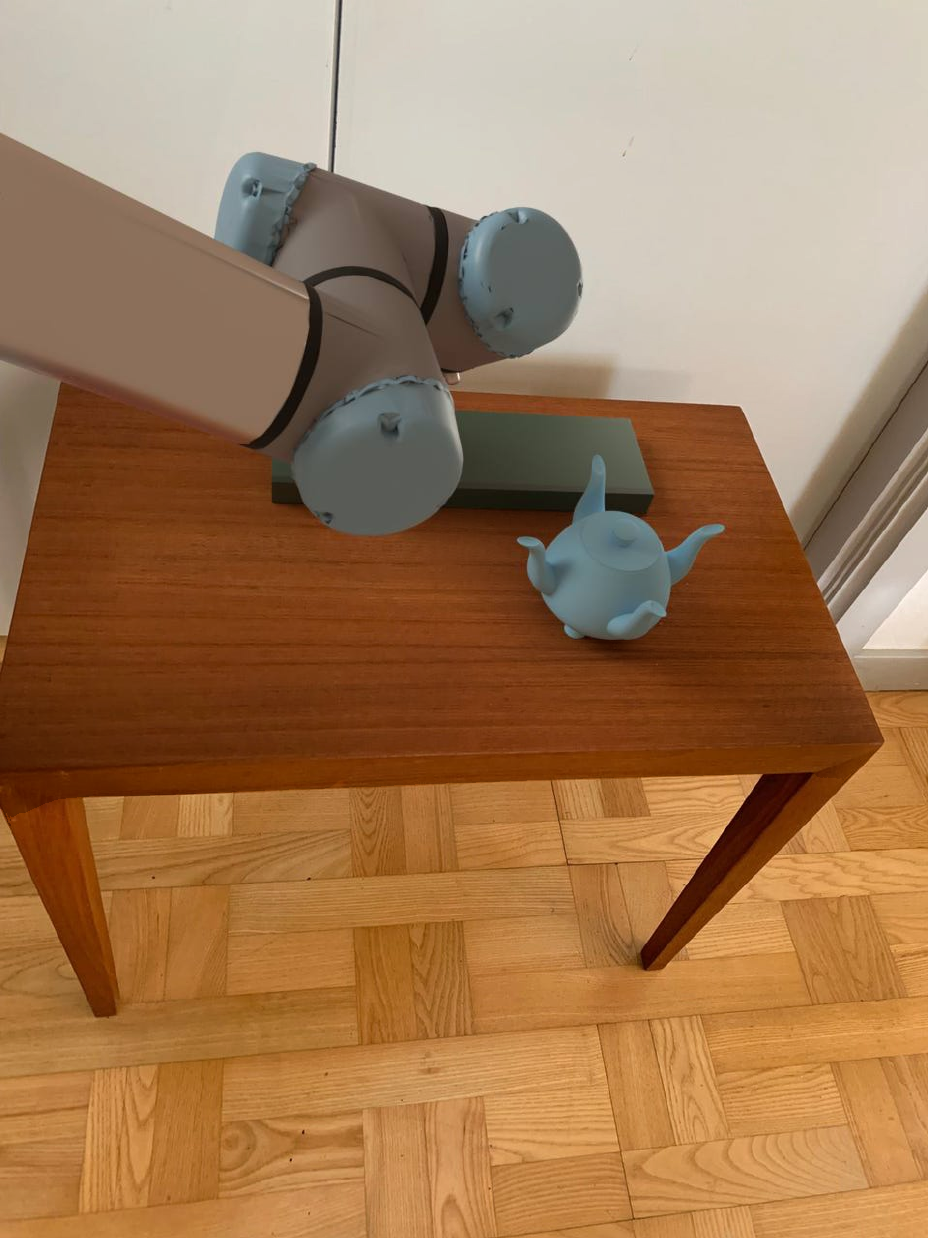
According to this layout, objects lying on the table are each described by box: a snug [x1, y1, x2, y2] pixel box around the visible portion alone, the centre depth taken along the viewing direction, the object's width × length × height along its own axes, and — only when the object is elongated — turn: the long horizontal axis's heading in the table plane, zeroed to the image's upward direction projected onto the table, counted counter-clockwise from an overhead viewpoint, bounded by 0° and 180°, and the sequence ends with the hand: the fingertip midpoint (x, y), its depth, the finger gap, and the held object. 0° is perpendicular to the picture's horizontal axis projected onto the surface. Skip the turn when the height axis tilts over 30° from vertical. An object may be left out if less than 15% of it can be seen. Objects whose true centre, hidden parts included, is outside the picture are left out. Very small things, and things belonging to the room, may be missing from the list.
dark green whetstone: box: [270, 409, 656, 514], centre depth 90 cm, size 36×11×3 cm, turn 96°
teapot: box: [516, 455, 725, 641], centre depth 78 cm, size 13×13×10 cm
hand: (313, 374), depth 84 cm, fingers closed on pill bottle, 8 cm apart
